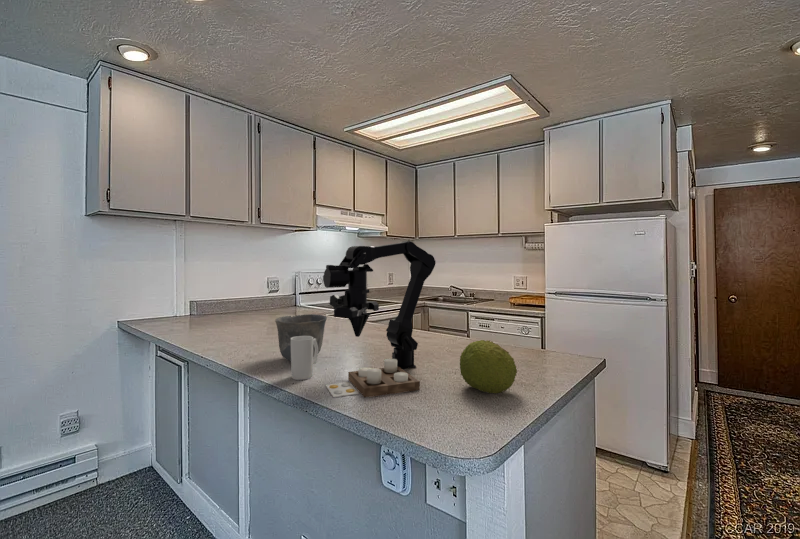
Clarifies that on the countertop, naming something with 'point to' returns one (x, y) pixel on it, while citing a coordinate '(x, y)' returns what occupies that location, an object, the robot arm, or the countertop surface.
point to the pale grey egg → (390, 365)
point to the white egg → (362, 372)
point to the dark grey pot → (299, 331)
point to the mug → (303, 357)
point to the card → (342, 389)
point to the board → (383, 384)
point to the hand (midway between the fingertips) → (357, 336)
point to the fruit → (487, 367)
